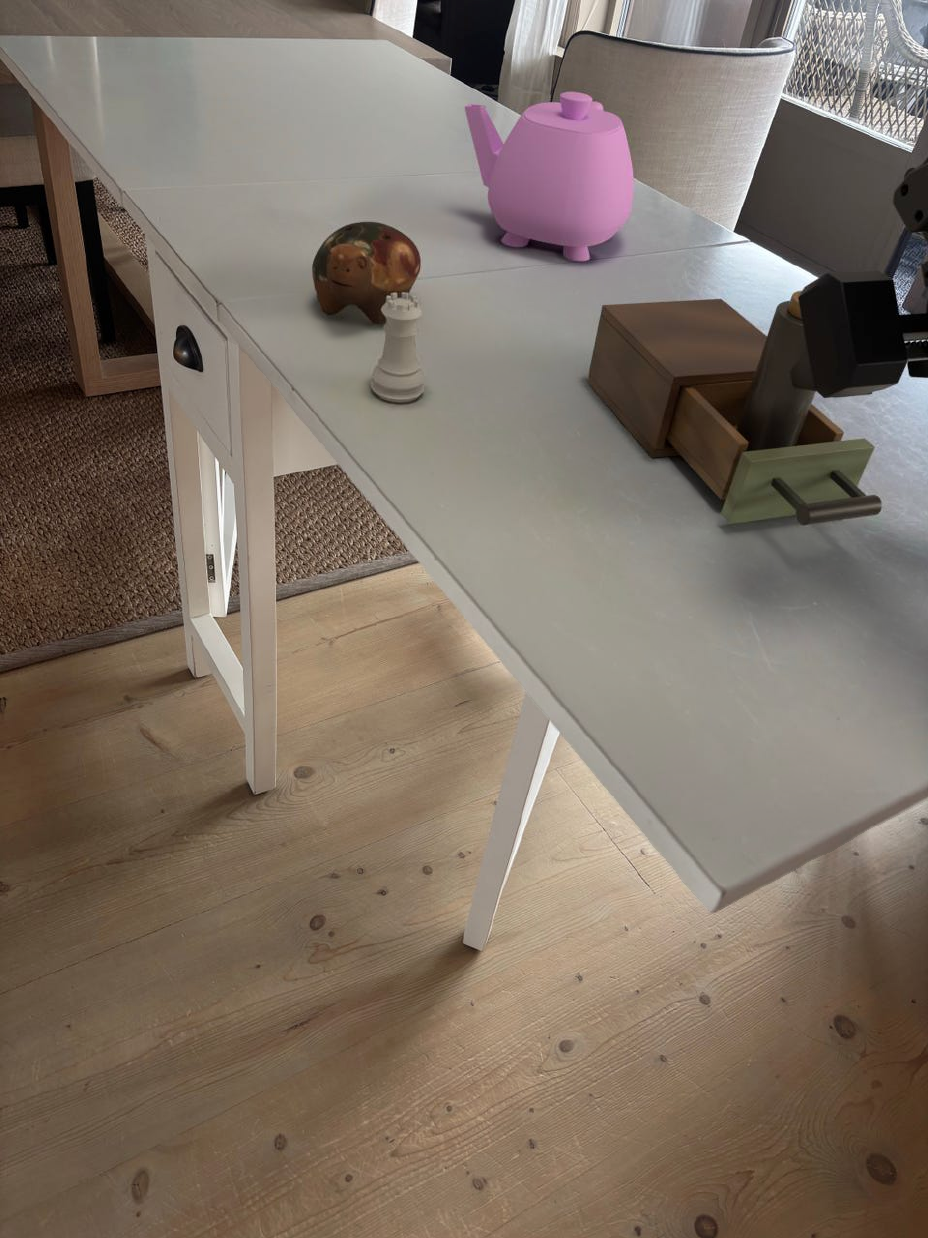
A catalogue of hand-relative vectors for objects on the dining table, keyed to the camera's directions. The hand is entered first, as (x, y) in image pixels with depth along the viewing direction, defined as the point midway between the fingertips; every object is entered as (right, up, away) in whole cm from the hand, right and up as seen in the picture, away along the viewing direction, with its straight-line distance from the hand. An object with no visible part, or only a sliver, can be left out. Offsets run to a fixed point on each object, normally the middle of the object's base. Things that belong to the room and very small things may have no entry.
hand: (852, 373), depth 61 cm
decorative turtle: (-35, +14, +30) cm, 48 cm away
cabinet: (-7, +2, +20) cm, 21 cm away
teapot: (-16, +30, +50) cm, 60 cm away
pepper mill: (-3, -4, +11) cm, 12 cm away
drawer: (-2, -6, +10) cm, 12 cm away
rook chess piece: (-31, +3, +18) cm, 36 cm away
